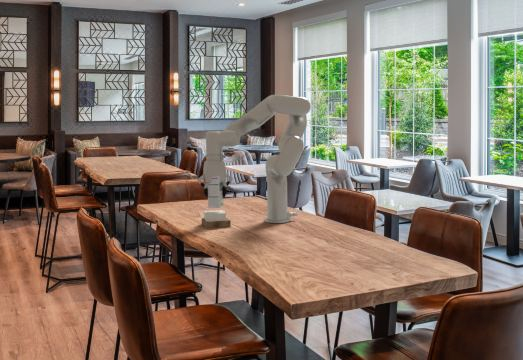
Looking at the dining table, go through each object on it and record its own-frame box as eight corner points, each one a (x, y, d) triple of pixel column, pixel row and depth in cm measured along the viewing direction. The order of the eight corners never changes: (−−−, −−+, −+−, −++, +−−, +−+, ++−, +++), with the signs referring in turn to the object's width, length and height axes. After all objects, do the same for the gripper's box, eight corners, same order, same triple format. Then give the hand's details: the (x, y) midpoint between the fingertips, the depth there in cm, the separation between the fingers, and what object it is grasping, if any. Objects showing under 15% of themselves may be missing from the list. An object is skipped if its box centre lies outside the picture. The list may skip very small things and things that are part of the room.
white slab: (223, 217, 296) (222, 210, 296) (226, 220, 287) (226, 213, 287) (204, 218, 294) (203, 210, 294) (206, 221, 285) (206, 214, 285)
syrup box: (220, 207, 287) (219, 176, 285) (207, 207, 288) (206, 176, 286) (223, 205, 292) (222, 174, 291) (211, 205, 294) (210, 174, 292)
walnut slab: (224, 223, 298) (224, 216, 298) (230, 228, 288) (230, 220, 287) (201, 225, 295) (201, 218, 294) (207, 229, 284) (206, 222, 284)
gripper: (230, 156, 294) (231, 194, 296) (194, 158, 288) (194, 196, 290) (235, 158, 287) (235, 196, 289) (197, 159, 281) (198, 198, 283)
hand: (215, 196), depth 290 cm, fingers closed on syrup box, 7 cm apart
